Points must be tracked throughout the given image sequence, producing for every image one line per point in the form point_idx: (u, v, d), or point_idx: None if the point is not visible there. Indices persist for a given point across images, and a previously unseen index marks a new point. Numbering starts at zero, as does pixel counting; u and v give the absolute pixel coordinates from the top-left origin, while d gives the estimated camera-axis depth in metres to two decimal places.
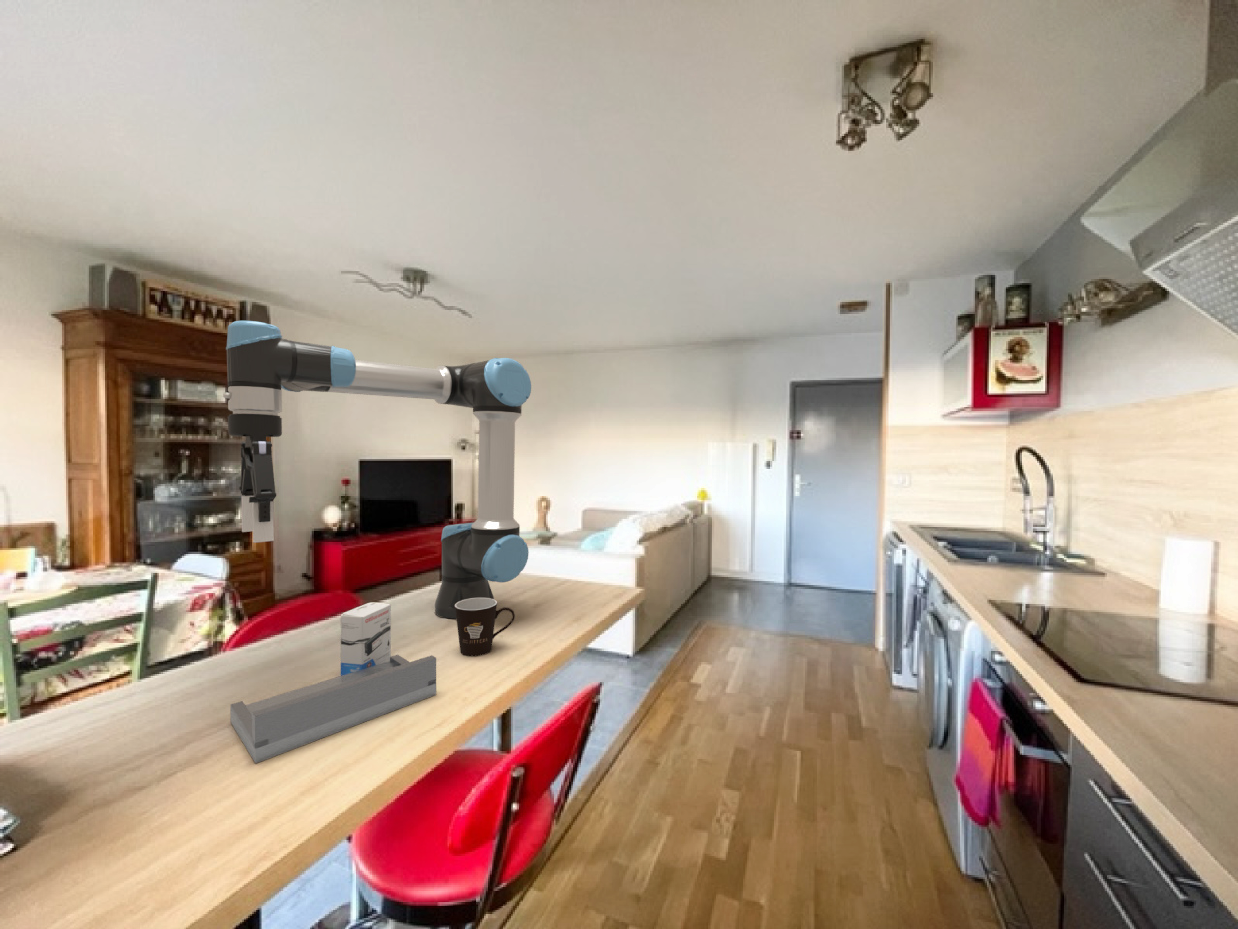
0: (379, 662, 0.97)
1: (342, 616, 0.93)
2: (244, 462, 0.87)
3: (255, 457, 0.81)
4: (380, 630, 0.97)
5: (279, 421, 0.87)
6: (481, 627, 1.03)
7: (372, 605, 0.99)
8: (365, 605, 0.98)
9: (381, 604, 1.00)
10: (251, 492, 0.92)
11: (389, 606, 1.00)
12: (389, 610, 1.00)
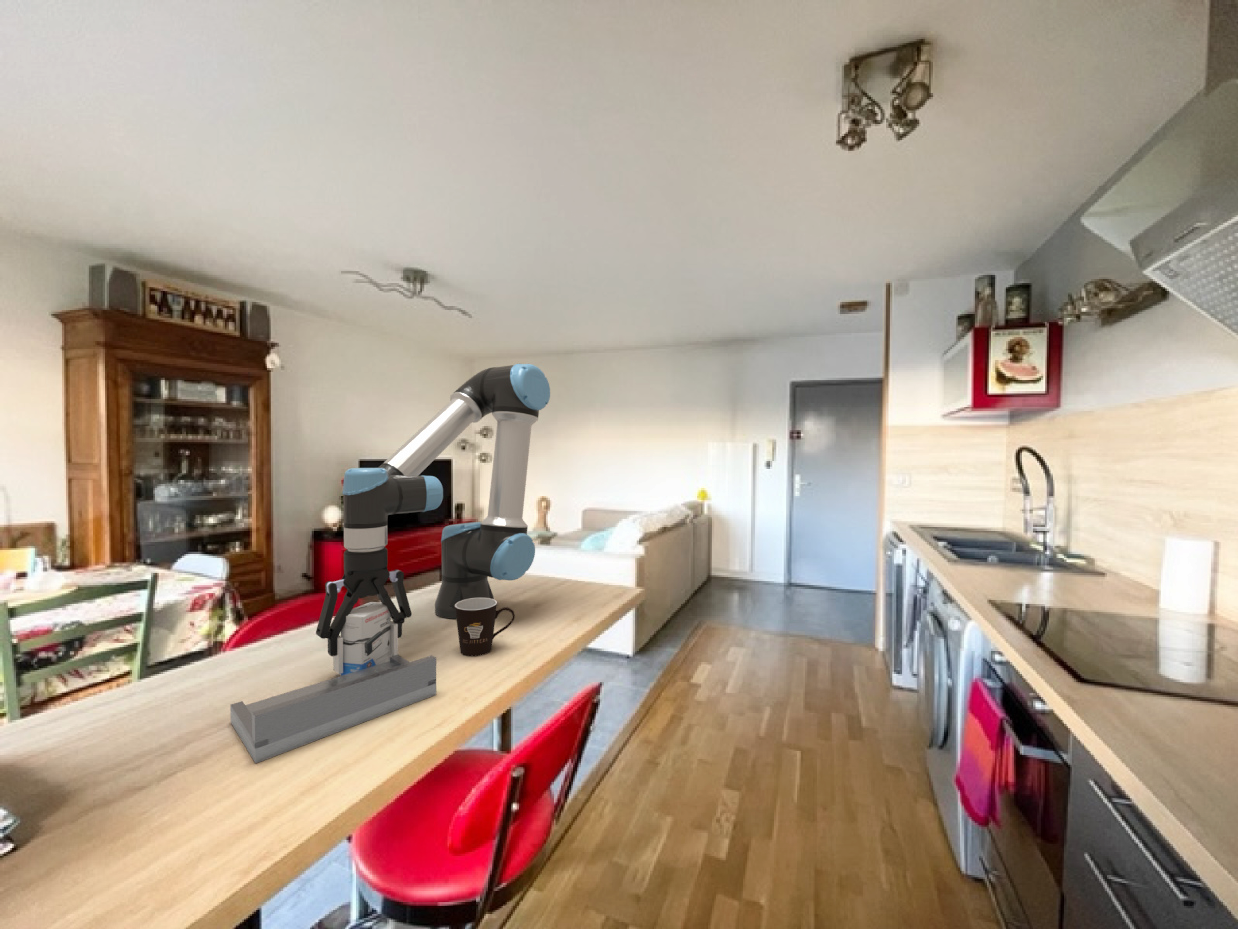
0: (379, 662, 0.97)
1: None
2: None
3: (325, 597, 0.92)
4: (380, 630, 0.97)
5: (360, 558, 0.93)
6: (481, 627, 1.03)
7: (372, 605, 0.99)
8: (365, 605, 0.98)
9: (381, 604, 1.00)
10: (394, 619, 1.01)
11: None
12: None
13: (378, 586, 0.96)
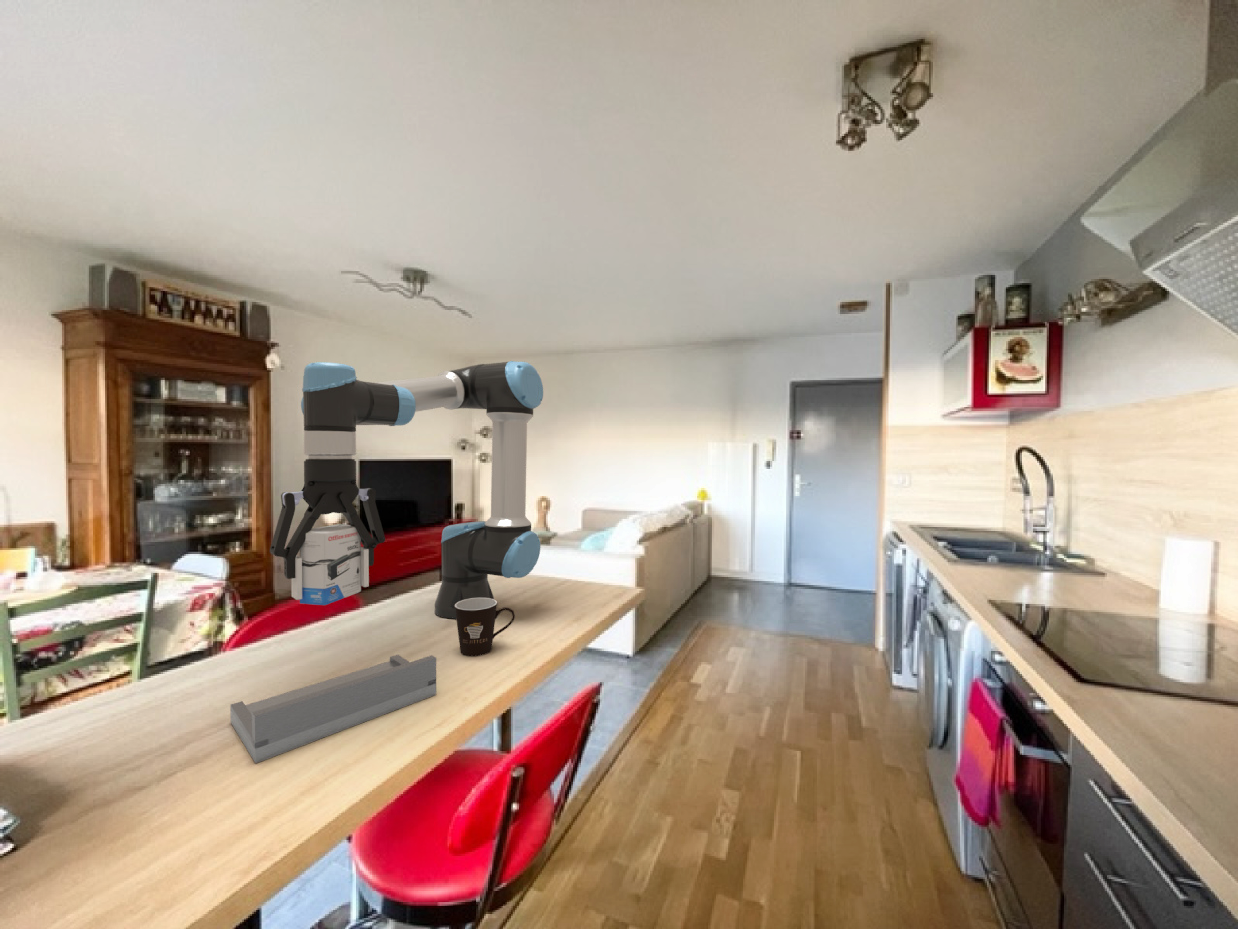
0: (346, 590, 0.84)
1: None
2: None
3: (281, 510, 0.79)
4: (348, 553, 0.84)
5: (322, 465, 0.79)
6: (481, 627, 1.03)
7: (339, 526, 0.86)
8: (330, 526, 0.85)
9: (349, 525, 0.86)
10: (365, 544, 0.87)
11: None
12: None
13: (345, 502, 0.83)
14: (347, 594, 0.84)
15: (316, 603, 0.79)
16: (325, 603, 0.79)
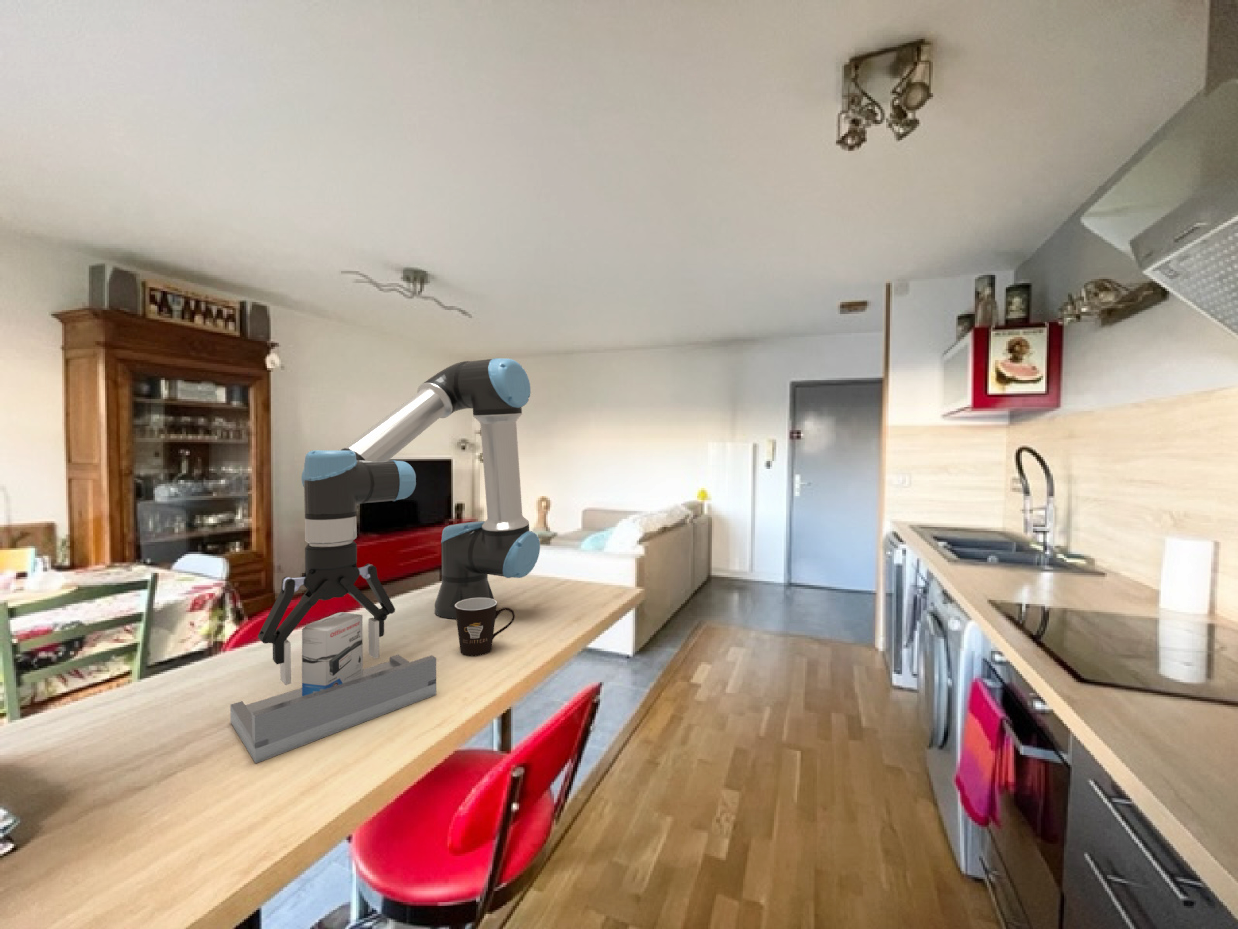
0: None
1: (304, 629, 0.80)
2: None
3: (279, 595, 0.79)
4: (350, 645, 0.84)
5: (323, 554, 0.80)
6: (481, 627, 1.03)
7: (341, 616, 0.86)
8: (332, 616, 0.86)
9: (351, 615, 0.87)
10: (376, 616, 0.89)
11: (360, 617, 0.87)
12: (360, 622, 0.87)
13: (345, 586, 0.84)
14: None
15: None
16: None
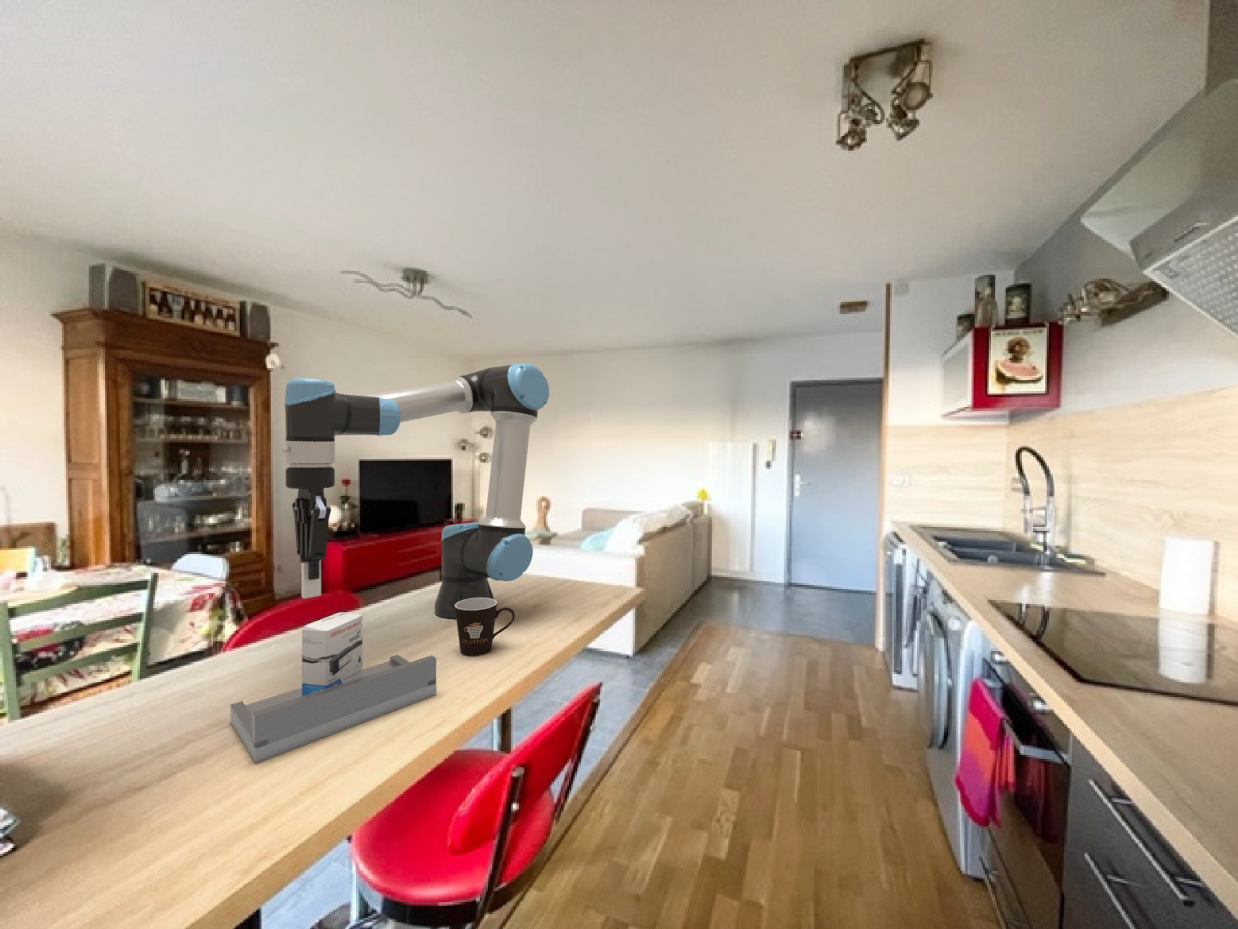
0: None
1: (304, 629, 0.80)
2: (301, 513, 0.89)
3: (314, 523, 0.86)
4: (350, 645, 0.84)
5: (333, 472, 0.91)
6: (481, 627, 1.03)
7: (341, 616, 0.86)
8: (332, 616, 0.86)
9: (351, 615, 0.87)
10: None
11: (360, 617, 0.87)
12: (360, 622, 0.87)
13: None
14: None
15: None
16: None
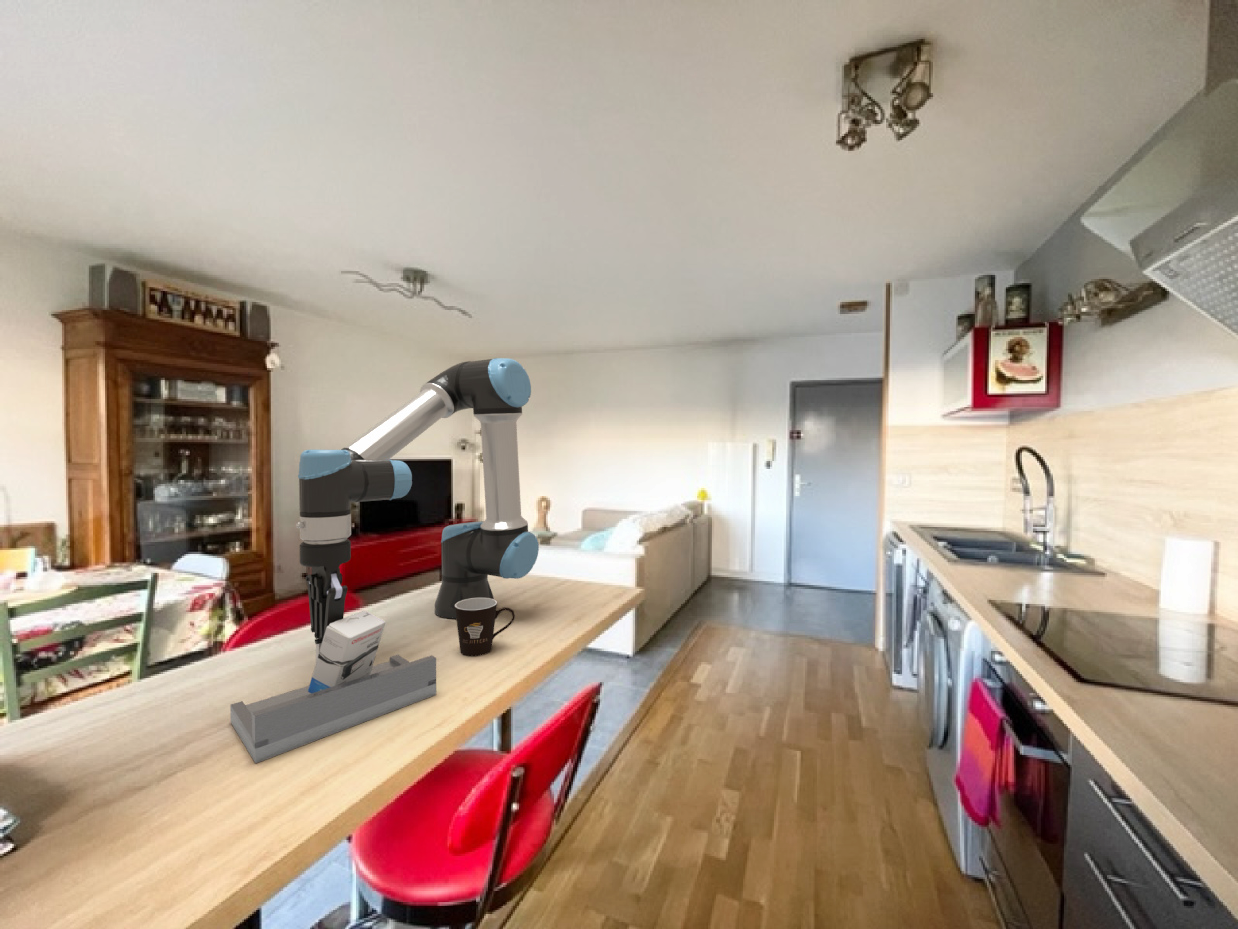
0: None
1: (328, 628, 0.79)
2: (315, 590, 0.85)
3: (330, 604, 0.81)
4: (366, 651, 0.83)
5: (349, 546, 0.86)
6: (481, 627, 1.03)
7: (365, 618, 0.85)
8: (357, 616, 0.84)
9: (375, 619, 0.85)
10: None
11: (383, 624, 0.85)
12: (382, 628, 0.86)
13: None
14: None
15: None
16: None
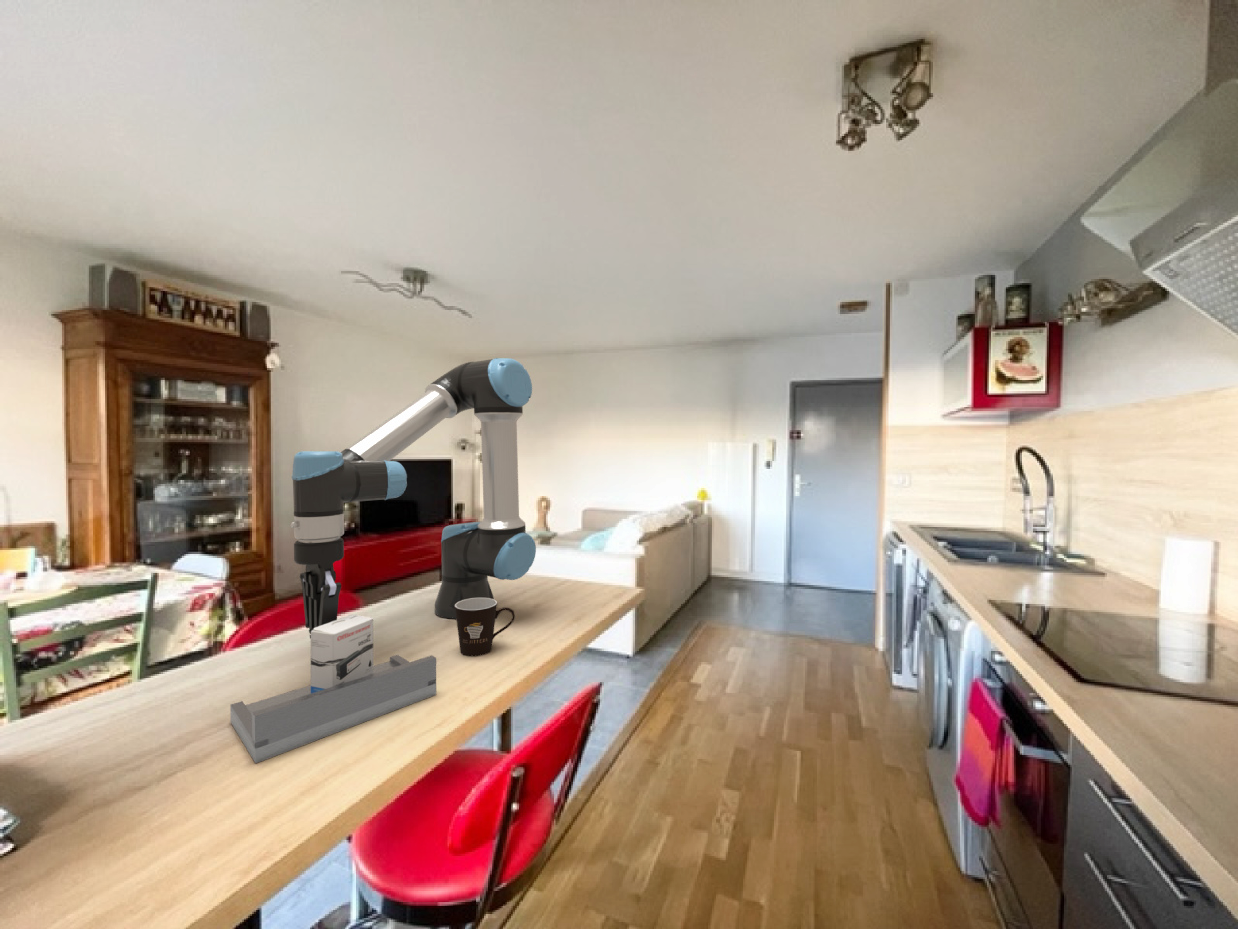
0: None
1: (312, 632, 0.79)
2: (309, 588, 0.87)
3: (324, 601, 0.84)
4: (359, 649, 0.83)
5: (342, 544, 0.89)
6: (481, 627, 1.03)
7: (351, 619, 0.85)
8: (343, 619, 0.85)
9: (362, 618, 0.86)
10: None
11: (371, 620, 0.85)
12: (371, 625, 0.85)
13: None
14: None
15: None
16: None
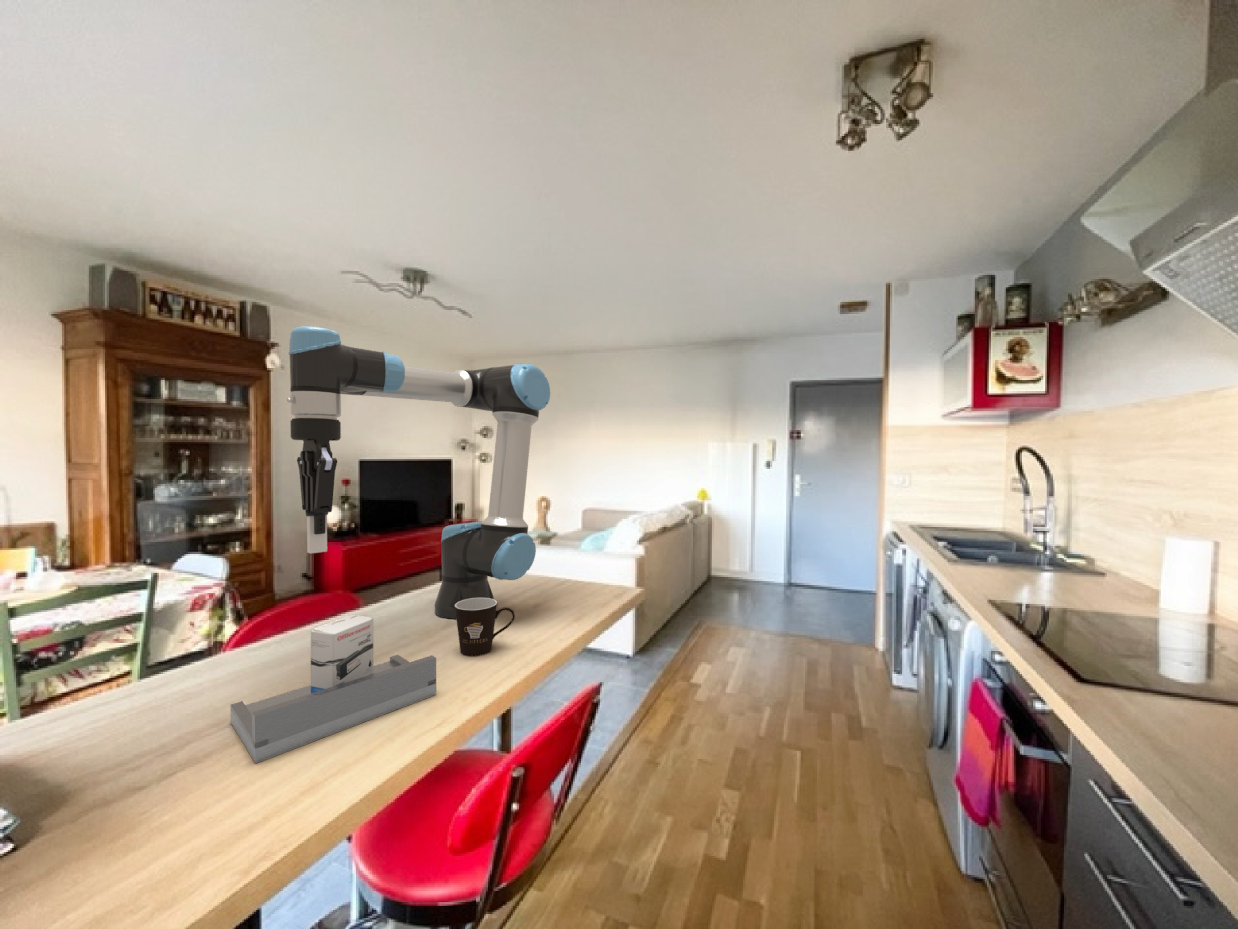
0: None
1: (312, 632, 0.79)
2: (306, 467, 0.87)
3: (320, 475, 0.84)
4: (359, 649, 0.83)
5: (339, 425, 0.88)
6: (481, 627, 1.03)
7: (352, 619, 0.85)
8: (343, 619, 0.85)
9: (362, 618, 0.86)
10: None
11: (371, 620, 0.85)
12: (371, 625, 0.85)
13: None
14: None
15: None
16: None
